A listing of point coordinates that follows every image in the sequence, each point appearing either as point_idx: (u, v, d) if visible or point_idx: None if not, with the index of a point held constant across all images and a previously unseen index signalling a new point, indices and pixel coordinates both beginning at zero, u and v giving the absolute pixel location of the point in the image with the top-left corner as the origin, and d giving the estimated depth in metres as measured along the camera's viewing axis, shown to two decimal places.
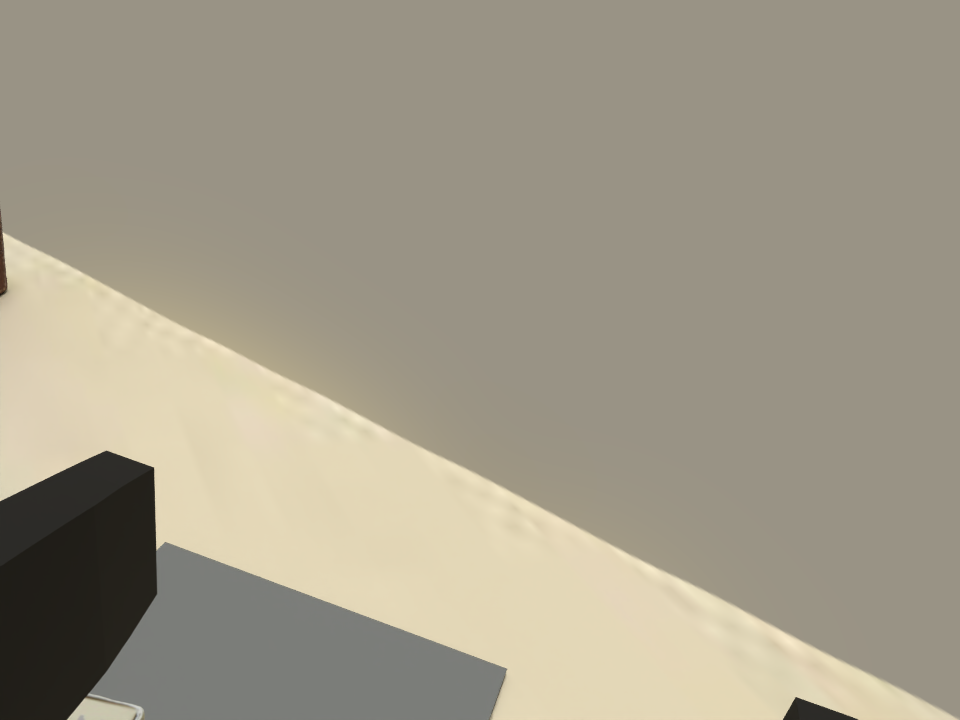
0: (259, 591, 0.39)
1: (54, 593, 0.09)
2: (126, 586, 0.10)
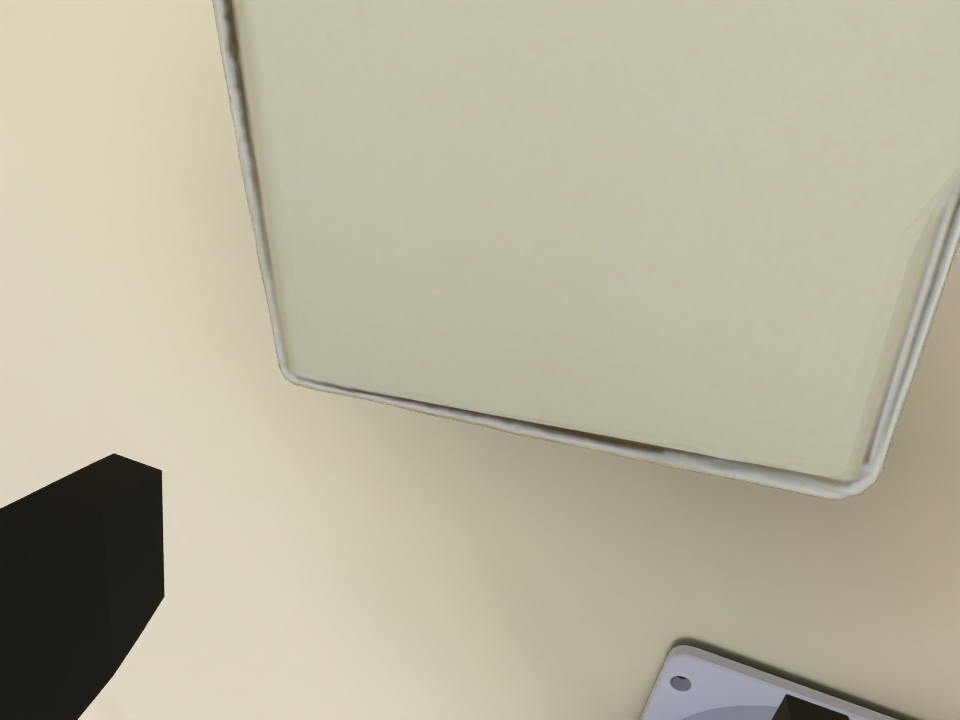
0: None
1: (63, 596, 0.09)
2: (134, 589, 0.10)
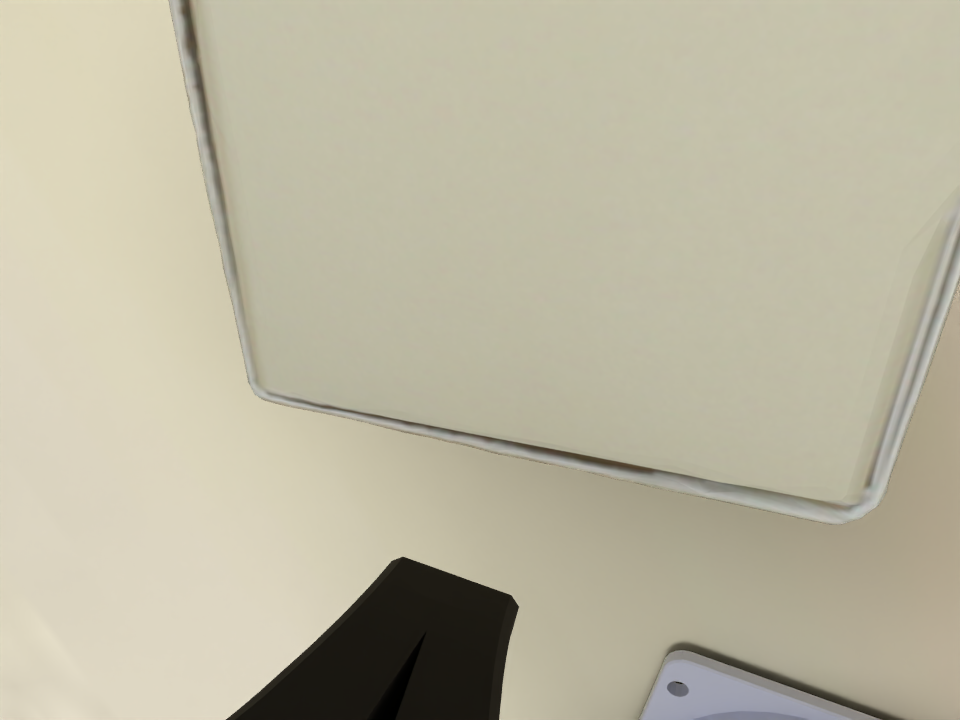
0: None
1: None
2: None
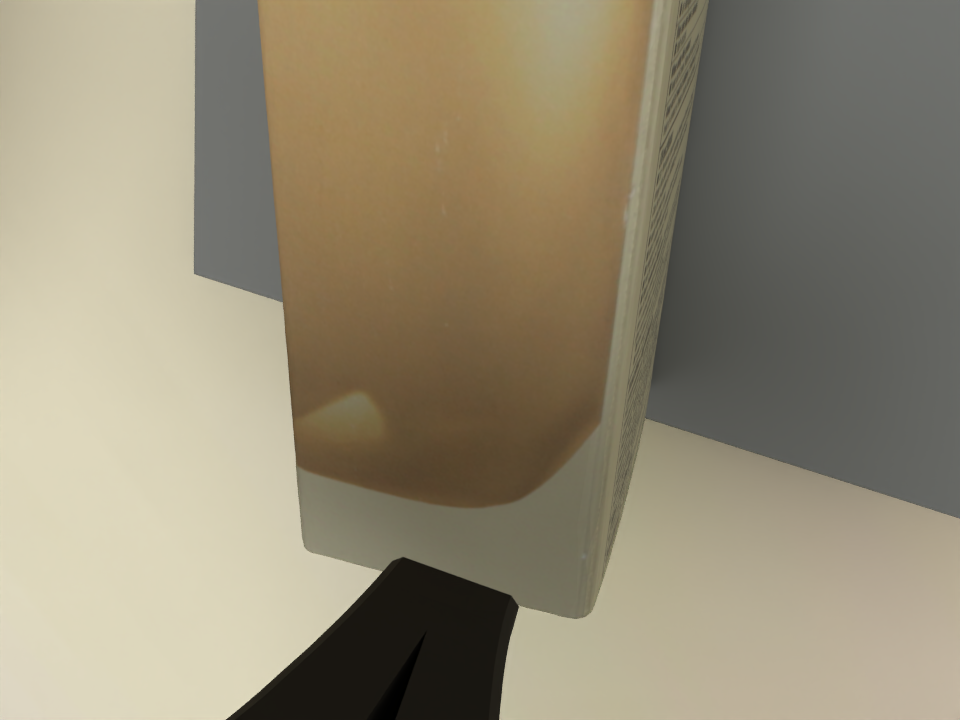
0: None
1: None
2: None
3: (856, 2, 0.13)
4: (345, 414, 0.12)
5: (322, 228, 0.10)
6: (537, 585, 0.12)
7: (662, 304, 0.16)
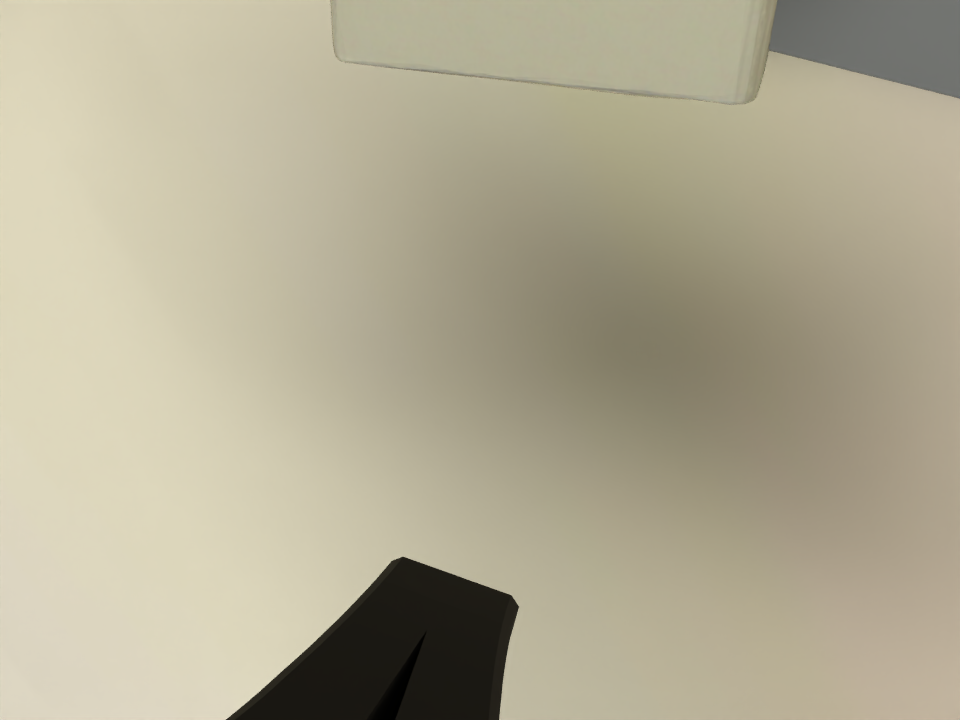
0: None
1: None
2: None
3: None
4: None
5: None
6: (681, 45, 0.08)
7: None
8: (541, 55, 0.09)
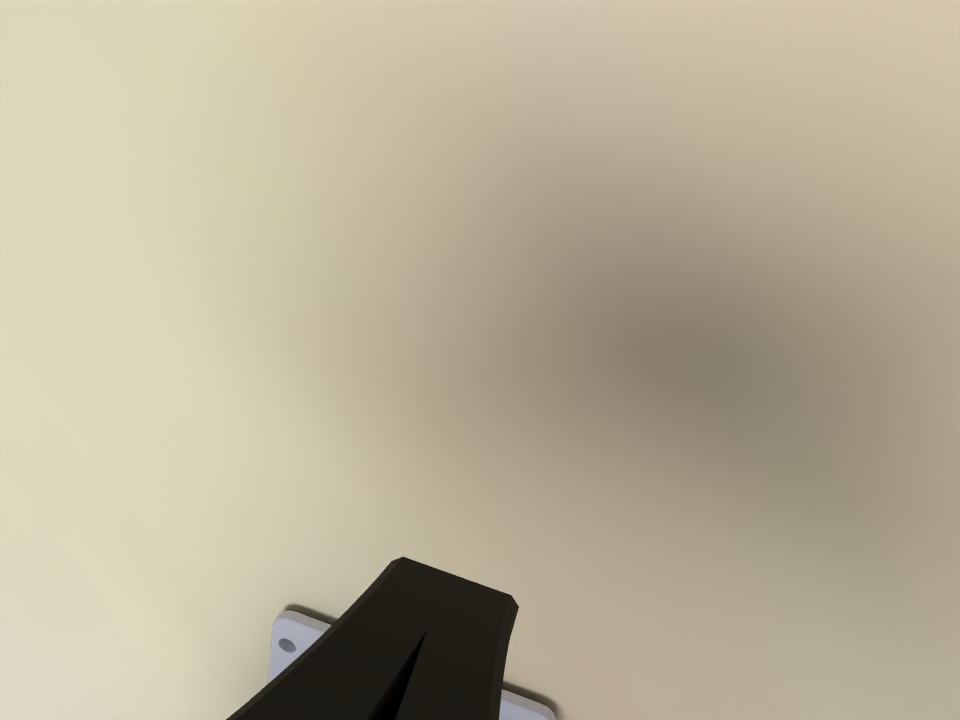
0: None
1: None
2: None
3: None
4: None
5: None
6: None
7: None
8: None
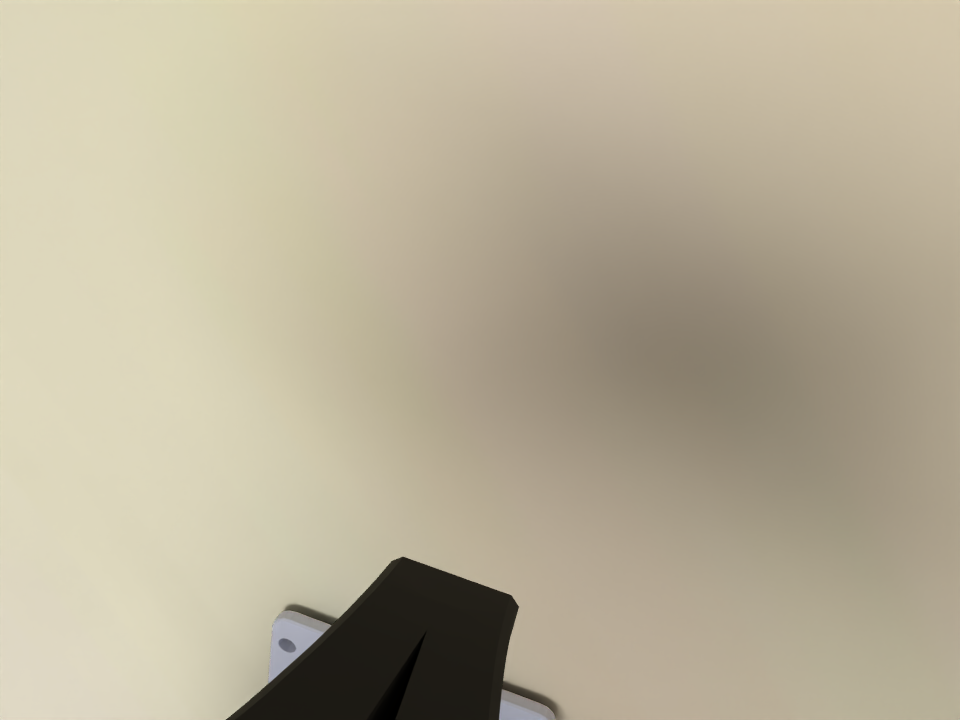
0: None
1: None
2: None
3: None
4: None
5: None
6: None
7: None
8: None
